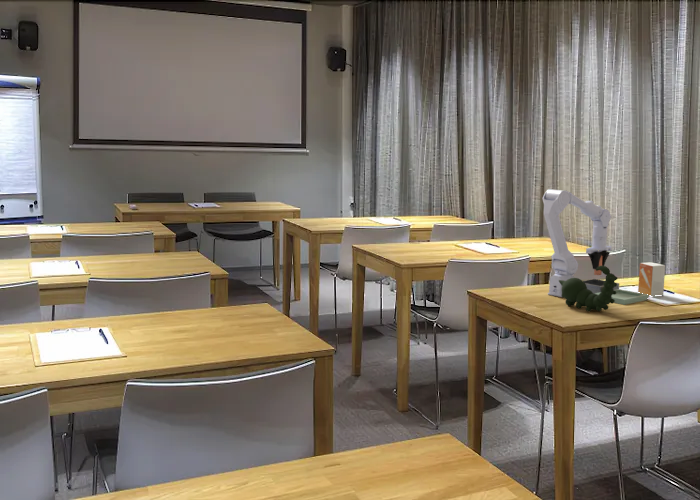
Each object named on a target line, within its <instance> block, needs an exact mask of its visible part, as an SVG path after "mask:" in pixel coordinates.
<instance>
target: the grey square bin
mask: <svg viewBox="0 0 700 500" xmlns="http://www.w3.org/2000/svg"><path fill="white" fill-rule="evenodd" d="M582 281H583V282H584V283H585V284H586V286H587V289H589V290H591V291H592V292H593V294H595V293H600V292H601V290H602V288H603V287H604V281H605V280H603V279H599V278H591V279H586V280H585V279H583V280H582ZM616 283H617V286H616V287H614V288H613V290H616V289H620V283H618V282H616Z"/></svg>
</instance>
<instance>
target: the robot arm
mask: <svg viewBox="0 0 700 500" xmlns="http://www.w3.org/2000/svg"><path fill="white" fill-rule="evenodd" d="M542 202H543V217H544V221H545V224H546V227H547V231H548V235H549V238H550V241H551V245H552V249H553V252H554V253H552V255H551V268H552V269H553V271H554V274H553V275H552V276H550V278H549V286H548V287H549V288H548V289H549V290H548V291H549V292H547V295H550V296H555V297H558V298H563V297H562V285H561V284H560V282H559V280H563V281H566V280H568V279H570V278H574V275H575V274H576V272H577V271H578V269H579V262H578V261H577V259H576V258H575V256H574V253H572V252H571V251H570V250H569V248H568V244H567V241H566V237H565V233H564V229H563V227H562V222H561V218H560V214H561V213H562V212H563V211H564V210H565V209H566V208H567V206H568V205H572V206H573V207H575V208H578V209H579V210H580V213H581V214H583V215H585V216H587V218H590V221H592V240H591V241H592V242H591V244H592V245H591V247H587V248H586V249H585V253H586V254H587V255H588V257H589V259H590V261H591V266H592V270H594V269H596V268H597V267H598V266H599V261H600V258H601V256H602V266H606V265H605V264H606V261H607V259H608V257H609V256H610V253H611V251H612V249H613V246H612V245H607V241H608V227H609V226H610V221H611V219H612V215H611V212H610V211H609V210H608V209H606V208H603V207H602V206H601V205H598V204H595V203H594V201H593V200H585V201H584V200H583V199H582V198H579V197H578V196H576V195H575V194H573V193H572V192H571V191H569V190H565V189H564V190H563V189H562V190H561V189H553V188H549V189H546V191H545V192H544V193H543V196H542Z"/></svg>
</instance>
